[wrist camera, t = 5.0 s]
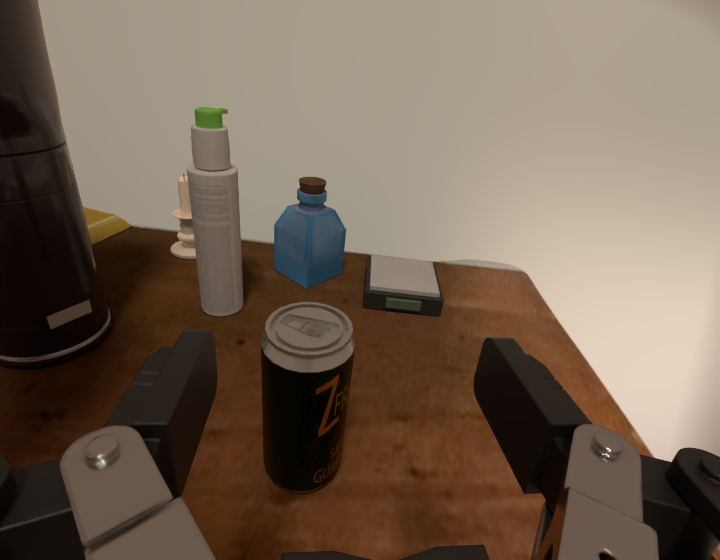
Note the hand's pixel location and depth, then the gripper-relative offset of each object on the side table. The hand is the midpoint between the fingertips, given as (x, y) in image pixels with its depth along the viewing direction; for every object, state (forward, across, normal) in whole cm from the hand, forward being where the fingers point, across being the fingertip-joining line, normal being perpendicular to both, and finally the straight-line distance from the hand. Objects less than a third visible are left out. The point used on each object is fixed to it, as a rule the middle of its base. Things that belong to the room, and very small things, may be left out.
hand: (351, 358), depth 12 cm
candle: (+43, +17, +14) cm, 48 cm away
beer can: (+11, +1, +17) cm, 20 cm away
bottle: (+30, +11, +15) cm, 35 cm away
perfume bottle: (+39, +2, +15) cm, 41 cm away
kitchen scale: (+34, -10, +15) cm, 39 cm away
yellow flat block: (+46, +33, +11) cm, 58 cm away
